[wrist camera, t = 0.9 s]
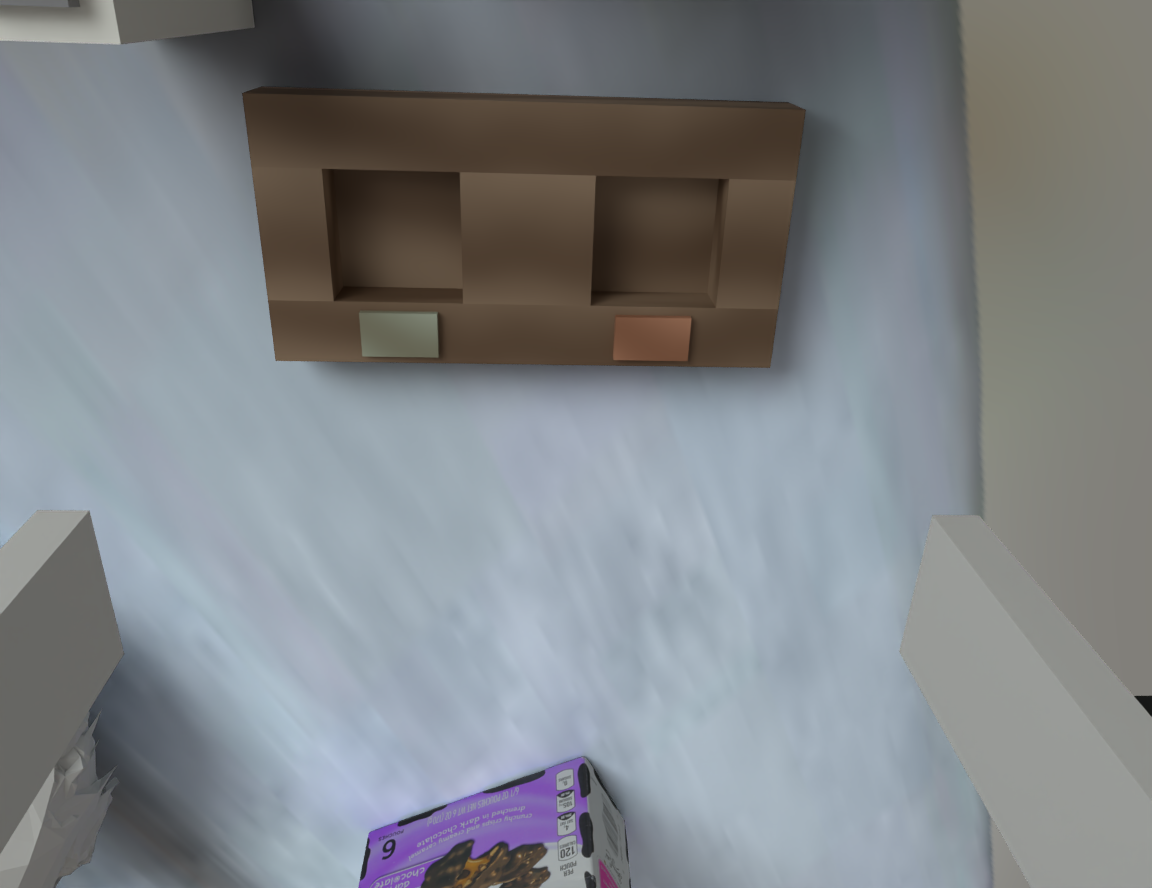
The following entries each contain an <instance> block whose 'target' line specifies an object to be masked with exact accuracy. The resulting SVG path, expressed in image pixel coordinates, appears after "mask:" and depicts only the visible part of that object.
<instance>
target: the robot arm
mask: <svg viewBox="0 0 1152 888" xmlns="http://www.w3.org/2000/svg"><path fill="white" fill-rule="evenodd" d="M899 652H900V654H901V656H902V657H903V659H904V661H905V663H906V665H907V666H908V668H909V670H910V672H911V674H912V675H913V677H914V679H915V681H916V682H917V684H918V686H919V688H920V690H921V691H922V693H923V695H924V697H925V699H926V700H927V702H928V704H929V706H930V708H931V709H932V711H933V713H934V715H935V717H936V718H937V720H938V722H939V724H940V726H941V727H942V729H943V731H944V733H945V735H946V736H947V738H948V740H949V742H950V743H951V745H952V747H953V749H954V751H955V752H956V754H957V756H958V758H959V760H960V761H961V763H962V765H963V767H964V769H965V770H966V772H967V774H968V776H969V778H970V779H971V781H972V783H973V785H974V787H975V788H976V790H977V792H978V794H979V796H980V797H981V799H982V801H983V803H984V804H985V806H986V808H987V810H988V812H989V813H990V815H991V817H992V819H993V821H994V822H995V824H996V826H997V828H998V829H999V831H1000V833H1001V835H1002V837H1003V839H1004V840H1005V842H1006V844H1007V846H1008V847H1009V849H1010V851H1011V853H1012V854H1013V857H1014V858H1015V860H1016V862H1017V863H1018V866H1019V867H1020V869H1021V871H1022V873H1023V874H1024V876H1025V878H1026V880H1027V882H1028V883H1029V885H1030V887H1031V888H1152V696H1133V695H1132V693H1131V692H1130V691H1129V690H1128V689H1127V688H1126V686H1125V685H1124V684H1123V683H1122V682H1121V681H1120V679H1119V678H1118V677H1117V676H1116V675H1115V674H1114V672H1113V671H1112V670H1111V669H1110V668H1109V667H1108V665H1107V664H1106V663H1105V662H1104V661H1103V660H1102V658H1101V657H1100V656H1099V655H1098V654H1097V653H1096V651H1095V650H1094V649H1093V648H1092V647H1091V646H1090V644H1089V643H1088V642H1087V641H1086V640H1085V639H1084V637H1083V636H1082V635H1081V634H1080V633H1079V632H1078V630H1077V629H1076V628H1075V627H1074V626H1073V624H1072V623H1071V622H1070V621H1069V620H1068V619H1067V617H1066V616H1065V615H1064V614H1063V613H1062V612H1061V610H1060V609H1059V608H1058V607H1057V606H1056V605H1055V603H1054V602H1053V601H1052V600H1051V599H1050V598H1049V597H1048V595H1047V594H1046V593H1045V592H1044V591H1043V589H1042V588H1041V587H1040V586H1039V585H1038V584H1037V582H1036V581H1035V580H1034V579H1033V578H1032V577H1031V575H1030V574H1029V573H1028V572H1027V571H1026V570H1025V568H1024V567H1023V566H1022V565H1021V564H1020V563H1019V562H1018V560H1017V559H1016V558H1015V557H1014V556H1013V554H1012V553H1011V552H1010V551H1009V550H1008V549H1007V547H1006V546H1005V545H1004V544H1003V543H1002V542H1001V540H1000V539H999V538H998V537H997V536H996V535H995V533H994V532H993V531H992V530H991V529H990V528H989V526H988V525H987V524H986V523H985V522H984V520H983V519H982V518H981V517H980V516H979V515H932V519H931V523H930V528H929V532H928V536H927V540H926V544H925V548H924V552H923V556H922V560H921V564H920V569H919V573H918V577H917V581H916V585H915V589H914V593H913V597H912V601H911V606H910V610H909V614H908V618H907V622H906V626H905V630H904V634H903V638H902V642H901V647H900V651H899ZM123 655H124V652H123V647H122V643H121V639H120V635H119V631H118V627H117V623H116V619H115V614H114V610H113V606H112V602H111V598H110V594H109V590H108V586H107V582H106V577H105V573H104V569H103V565H102V561H101V557H100V553H99V549H98V545H97V540H96V536H95V532H94V528H93V524H92V520H91V516H90V512H89V511H63V510H37V511H36V512H35V513H34V514H33V515H32V517H31V518H30V519H29V520H28V521H27V522H26V523H25V524H24V525H23V526H22V527H21V528H20V529H19V530H18V531H17V532H16V533H15V534H14V535H13V536H12V537H11V538H10V540H9V541H8V542H7V543H6V544H5V545H4V546H3V547H2V548H1V549H0V854H1V852H2V851H3V849H4V847H5V846H6V844H7V843H8V841H9V839H10V838H11V836H12V834H13V833H14V831H15V830H16V828H17V826H18V825H19V823H20V821H21V820H22V818H23V817H24V815H25V813H26V812H27V810H28V809H29V807H30V805H31V804H32V802H33V800H34V799H35V797H36V796H37V794H38V792H39V791H40V789H41V787H42V786H43V784H44V783H45V781H46V779H47V778H48V776H49V775H50V773H51V771H52V770H53V768H54V766H55V765H56V763H57V762H58V760H59V758H60V757H61V755H62V753H63V752H64V750H65V749H66V747H67V745H68V744H69V742H70V741H71V739H72V737H73V736H74V734H75V732H76V731H77V729H78V728H79V726H80V724H81V723H82V721H83V719H84V718H85V716H86V715H87V713H88V711H89V710H90V708H91V707H92V705H93V703H94V702H95V700H96V698H97V697H98V695H99V694H100V692H101V690H102V689H103V687H104V685H105V684H106V682H107V681H108V679H109V677H110V676H111V674H112V673H113V671H114V669H115V668H116V666H117V664H118V663H119V661H120V660H121V658H122V656H123Z"/></svg>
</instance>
